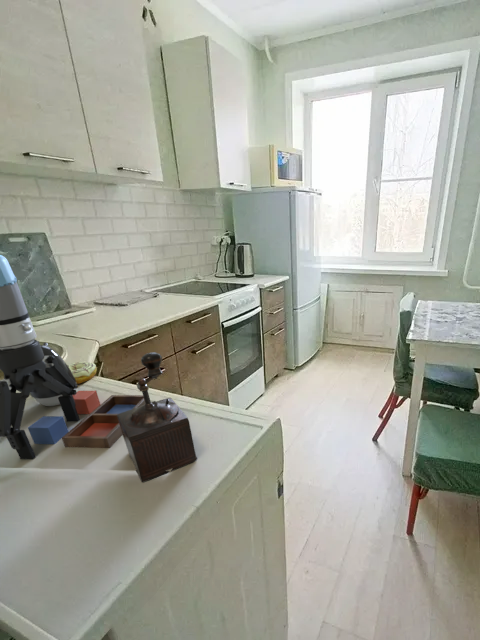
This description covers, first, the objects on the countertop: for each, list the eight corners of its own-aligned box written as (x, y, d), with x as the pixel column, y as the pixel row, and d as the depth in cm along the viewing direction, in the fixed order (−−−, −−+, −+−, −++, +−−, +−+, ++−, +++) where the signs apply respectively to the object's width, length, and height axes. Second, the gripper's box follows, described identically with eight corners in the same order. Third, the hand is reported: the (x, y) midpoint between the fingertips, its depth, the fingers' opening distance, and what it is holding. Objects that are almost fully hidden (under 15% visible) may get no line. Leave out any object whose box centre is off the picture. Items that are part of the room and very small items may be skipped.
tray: (65, 449, 71) (61, 437, 70) (114, 405, 88) (111, 395, 86) (110, 450, 70) (106, 438, 69) (151, 405, 86) (149, 395, 85)
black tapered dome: (84, 389, 97) (66, 336, 90) (77, 406, 88) (56, 348, 81) (42, 396, 94) (21, 342, 87) (30, 414, 85) (5, 355, 78)
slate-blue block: (35, 446, 73) (27, 427, 71) (50, 433, 77) (43, 416, 75) (55, 446, 72) (48, 427, 70) (69, 434, 76) (63, 416, 74)
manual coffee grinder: (201, 459, 66) (185, 371, 58) (141, 484, 61) (113, 390, 53) (174, 424, 78) (158, 347, 70) (121, 442, 72) (97, 361, 64)
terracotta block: (72, 416, 83) (66, 399, 81) (84, 406, 87) (78, 390, 85) (90, 416, 83) (84, 399, 81) (101, 406, 87) (96, 390, 85)
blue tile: (99, 420, 80) (98, 420, 80) (116, 405, 86) (115, 404, 86) (129, 421, 79) (129, 420, 79) (144, 405, 85) (143, 404, 85)
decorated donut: (55, 389, 98) (51, 377, 96) (60, 375, 106) (56, 364, 105) (97, 381, 101) (93, 369, 99) (98, 368, 110) (95, 357, 108)
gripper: (-29, 370, 54) (24, 479, 63) (75, 324, 76) (103, 409, 85) (-72, 370, 54) (-14, 478, 64) (43, 325, 77) (74, 409, 86)
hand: (53, 439), depth 74 cm, fingers open, 13 cm apart
